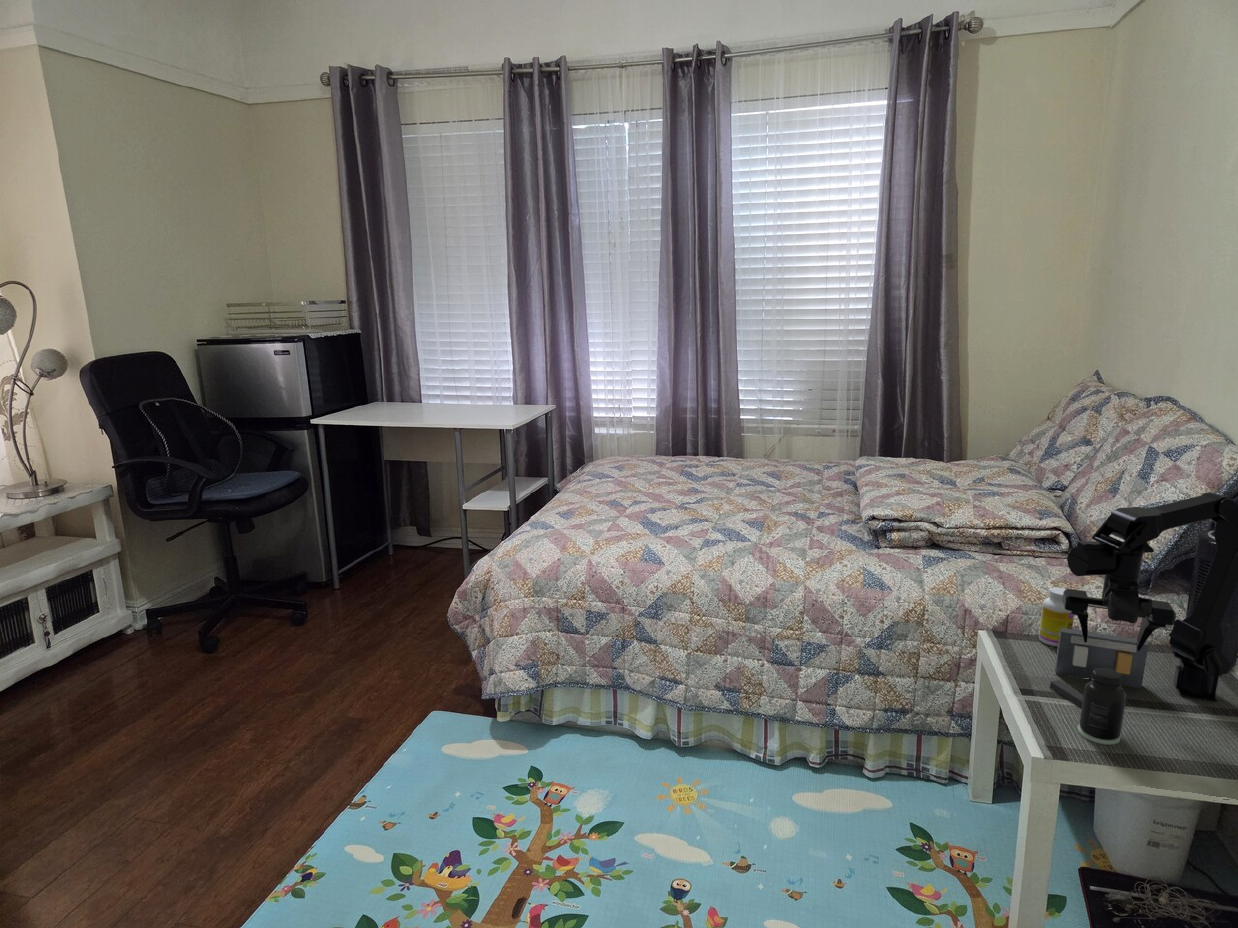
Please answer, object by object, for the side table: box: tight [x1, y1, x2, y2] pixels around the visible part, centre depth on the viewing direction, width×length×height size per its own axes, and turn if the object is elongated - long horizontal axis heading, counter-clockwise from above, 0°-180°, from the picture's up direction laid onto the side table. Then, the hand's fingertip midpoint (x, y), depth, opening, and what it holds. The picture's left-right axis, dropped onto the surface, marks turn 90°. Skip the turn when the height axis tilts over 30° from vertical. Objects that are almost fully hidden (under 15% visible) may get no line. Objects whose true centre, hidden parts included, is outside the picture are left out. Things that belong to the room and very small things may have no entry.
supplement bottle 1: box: [1038, 587, 1075, 648], centre depth 190 cm, size 7×7×13 cm
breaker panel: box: [1054, 627, 1149, 689], centre depth 172 cm, size 16×3×10 cm, turn 66°
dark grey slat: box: [1049, 680, 1083, 708], centre depth 164 cm, size 14×2×2 cm, turn 15°
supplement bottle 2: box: [1079, 668, 1127, 740], centre depth 151 cm, size 7×7×12 cm
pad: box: [1077, 723, 1122, 746], centre depth 153 cm, size 7×7×1 cm
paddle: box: [1072, 645, 1088, 667], centre depth 172 cm, size 2×1×4 cm, turn 67°
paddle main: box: [1115, 652, 1132, 675], centre depth 169 cm, size 2×1×4 cm, turn 66°
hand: (1111, 645), depth 162 cm, fingers open, 9 cm apart
